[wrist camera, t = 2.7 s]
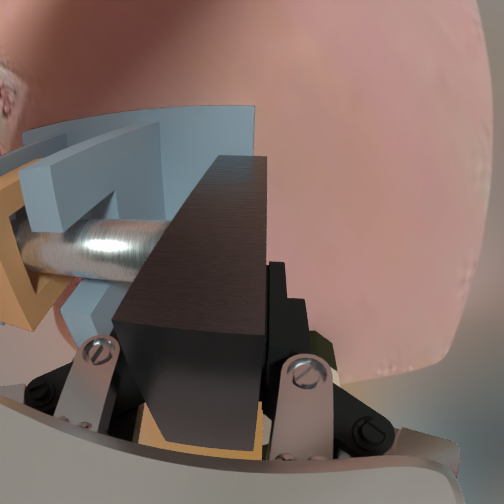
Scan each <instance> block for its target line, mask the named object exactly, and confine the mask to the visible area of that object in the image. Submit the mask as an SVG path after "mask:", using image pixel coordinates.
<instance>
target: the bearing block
mask: <svg viewBox="0 0 504 504" xmlns="http://www.w3.org/2000/svg"><path fill="white" fill-rule="evenodd" d="M254 120H255V106H244V105H208V106H181V107H165V108H153V109H142V110H133V111H125V112H117V113H110V114H103V115H97V116H91V117H85V118H80V119H75V120H69V121H65V122H60V123H55V124H51V125H47V126H43V127H39V128H35V129H31V130H27V131H25V132H22V142H23V146H22V147H20V148H18V149H15V150H13V151H10V152H8V153H6V154H4V155H1V156H0V177H1V176H3V175H4V174H6V173H8V172H10V171H12V170H14V169H16V168H18V167H20V166H22V165H24V164H26V163H28V162H30V161H33V160H35V159H41V158H43V159H41V160H39V161H37V162H34V163H32V164H30V165H28V166H26V167H24V168H22V169H20V170H18V174H19V180H20V185H21V190H22V195H23V199H24V203H25V205H24V206H23V207H22V208H20V209H19V210H17V211H16V212H14V213H13V214H12V215H10V216H9V219H28V220H29V223H30V227H31V231H32V232H56V233H64V232H65V231H66V230H67V229H68V228H69V227H70V226H72V225H73V224H74V223H75V222H76V221H77V220H79V219H147V220H172V219H173V218H174V216H175V215H176V214H177V212H178V211H179V209H180V208H181V206H182V205H183V203H184V202H185V200H186V199H187V198H188V196H189V195H190V193H191V192H192V190H193V189H194V188H195V186H196V185H197V183H198V182H199V181H200V179H201V178H202V177H203V175H204V174H205V172H206V171H207V170H208V168H209V167H210V166H211V164H212V163H213V162H214V160H215V159H216V158H217V156H218V155H242V156H253V149H254ZM131 284H132V283H131V282H121V281H111V280H101V279H92V278H83V279H82V281H81V282H80V283H79V285H78V286H77V287H76V288H75V290H74V291H73V292H72V294H71V295H70V296H69V298H68V299H67V300H66V302H65V303H64V305H63V306H62V307H61V309H60V312H61V314H62V316H63V318H64V321H65V323H66V325H67V327H68V329H69V331H70V333H71V336H72V338H73V340H74V342H75V344H76V346H77V347H79V348H80V347H81V345H82V344H83V343H84V342H85V341H86V340H87V339H89V338H91V337H93V336H96V335H108V336H109V335H110V333H111V331H112V329H113V324H112V321H111V319H112V317H113V315H114V313H115V312H116V310H117V308H118V306H119V305H120V303H121V301H122V299H123V298H124V296H125V294H126V293H127V291H128V289H129V287H130V286H131ZM0 324H1V325H4V324H5V323H3V322H0Z"/></svg>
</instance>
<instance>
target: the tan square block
mask: <svg viewBox="0 0 504 504" xmlns="http://www.w3.org/2000/svg"><path fill="white" fill-rule="evenodd" d="M41 159H43V158H41ZM41 159H35V160H33V161H30V162H28V163H26V164H24V165H22V166H20V167H18V168H16V169H14V170H12V171H10V172H8V173H6V174H4V175H3V176H1V177H0V322H3V323H6V324H9V325H12V326H16V327H19V328H22V329H25V330H28V331H32V332H34V330H35V329H36V327H37V326H38V325H39V323H40V322H41V320H42V319H43V317H44V316H45V315H46V313H47V312H48V311H49V309H50V308H51V307H52V305H53V304H54V303H55V301H56V300H57V299H58V298H59V296H60V295H61V294H62V292H63V291H64V290H65V289H66V287H67V286H68V285H69V284H70V282H71V281H72V280H73V279H74V276H66V275H58V274H50V273H42V272H35V271H27V270H26V269H25V266H24V264H23V261H22V258H21V255H20V252H19V249H18V246H17V243H16V240H15V237H14V233H13V230H12V226H11V223H10V219H9V216H10V215H12V214H13V213H14V212H16V211H17V210H19V209H20V208H22V207H23V206H24V205H25V203H24V199H23V195H22V190H21V185H20V180H19V174H18V170H20V169H22V168H24V167H26V166H28V165H30V164H32V163H34V162H37V161H39V160H41Z"/></svg>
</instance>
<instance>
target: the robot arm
mask: <svg viewBox="0 0 504 504" xmlns="http://www.w3.org/2000/svg"><path fill="white" fill-rule="evenodd" d="M259 401H262V410H263V414H264V415H266V416H267V417H268V418H269V419H270V420H271V421H272V423H271V430H270V437H269V443H268V450H267V457H266V461H264V460H244V459H229V458H220V457H211V456H203V455H195V454H188V453H182V452H176V451H171V450H165V449H160V448H155V447H151V446H146V445H142V444H138V439H139V433H140V427H141V421H142V416H143V410H144V403H145V400H144V398H143V396H142V394H141V392H140V390H139V387H138V385H137V383H136V381H135V379H134V376H133V374H132V372H131V369H130V367H129V365H128V362H127V360H126V358H125V355H124V353H123V350H122V348H121V345H120V343H119V340H118V337H117V335H116V332H115V329H114V327H113V329H112V331H111V333H110V335H109V336H108V335H96V336H93V337H91V338H89V339H87V340H86V341H85V342H84V343H83V344H82V345H81V347H80V348H79V350H78V353H77V355H76V357H75V360H74V361H73V362H71V363H69V364H66V365H64V366H62V367H60V368H57V369H55V370H53V371H51V372H49V373H46V374H44V375H42V376H40V377H37V378H35V379H34V380H32V381H31V382H30V383H29V384H28V386H26V385H25V384H18V385H10V386H2V387H0V504H465V500H464V497H463V494H462V491H461V488H460V485H459V483H458V481H457V475H458V470H459V465H460V460H461V452H460V449H459V447H458V446H457V445H456V443H454V442H453V441H451V440H448V439H444V438H440V437H436V436H432V435H429V434H425V433H422V432H418V431H414V430H411V429H408V428H404V427H401V429H397V428H394V427H393V426H392V424H391V423H390V421H388V420H387V419H386V418H385V417H384V416H382V415H381V414H379V413H377V412H376V411H374V410H373V409H371V408H370V407H368V406H367V405H365V404H364V403H362V402H361V401H359V400H358V399H357V398H355V397H354V396H352V395H351V394H349V393H348V392H346V391H345V390H343V389H342V388H340V387H339V386H338V385H336V384H335V383H333V374H332V370H331V368H330V366H329V364H328V363H327V362H326V361H325V360H323V359H322V358H320V357H318V356H316V355H312V350H311V342H310V334H309V326H308V319H307V312H306V305H305V300H304V299H297V298H287V288H286V275H285V263H284V262H271V261H269V265H266V297H265V338H264V349H263V360H262V370H261V381H260V391H259Z"/></svg>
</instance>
